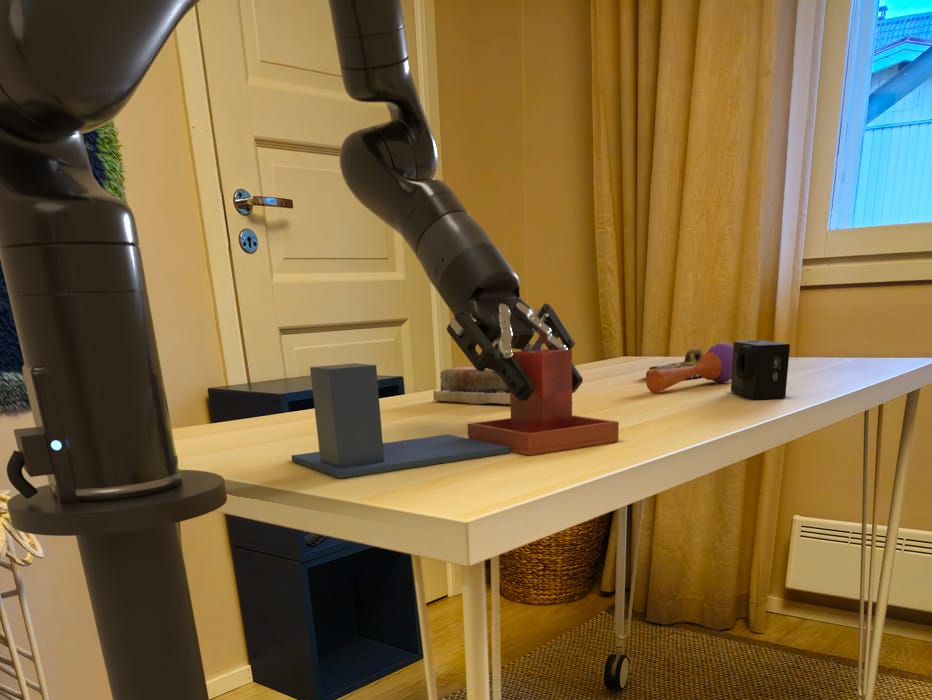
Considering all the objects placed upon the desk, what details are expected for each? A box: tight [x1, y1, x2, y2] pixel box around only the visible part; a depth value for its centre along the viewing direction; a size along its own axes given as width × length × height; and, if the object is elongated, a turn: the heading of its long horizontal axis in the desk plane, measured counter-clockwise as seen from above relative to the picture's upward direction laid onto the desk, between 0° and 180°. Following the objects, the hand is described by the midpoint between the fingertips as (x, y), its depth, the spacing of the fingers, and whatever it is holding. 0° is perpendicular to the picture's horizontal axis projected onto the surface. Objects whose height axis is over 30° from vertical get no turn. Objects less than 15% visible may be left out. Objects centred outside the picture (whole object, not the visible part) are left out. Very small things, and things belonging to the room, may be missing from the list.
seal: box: [645, 348, 704, 379], centre depth 148 cm, size 9×5×15 cm
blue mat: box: [291, 433, 511, 479], centre depth 84 cm, size 18×12×1 cm, turn 122°
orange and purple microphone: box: [645, 342, 734, 394], centre depth 132 cm, size 6×6×20 cm
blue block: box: [309, 362, 384, 468], centre depth 78 cm, size 4×4×8 cm
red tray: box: [467, 414, 620, 456], centre depth 88 cm, size 11×11×2 cm
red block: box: [510, 348, 573, 433], centre depth 87 cm, size 4×4×8 cm
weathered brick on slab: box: [432, 366, 510, 405], centre depth 125 cm, size 18×5×10 cm
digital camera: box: [730, 340, 791, 400], centre depth 117 cm, size 10×5×7 cm, turn 2°
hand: (552, 391), depth 86 cm, fingers open, 6 cm apart
